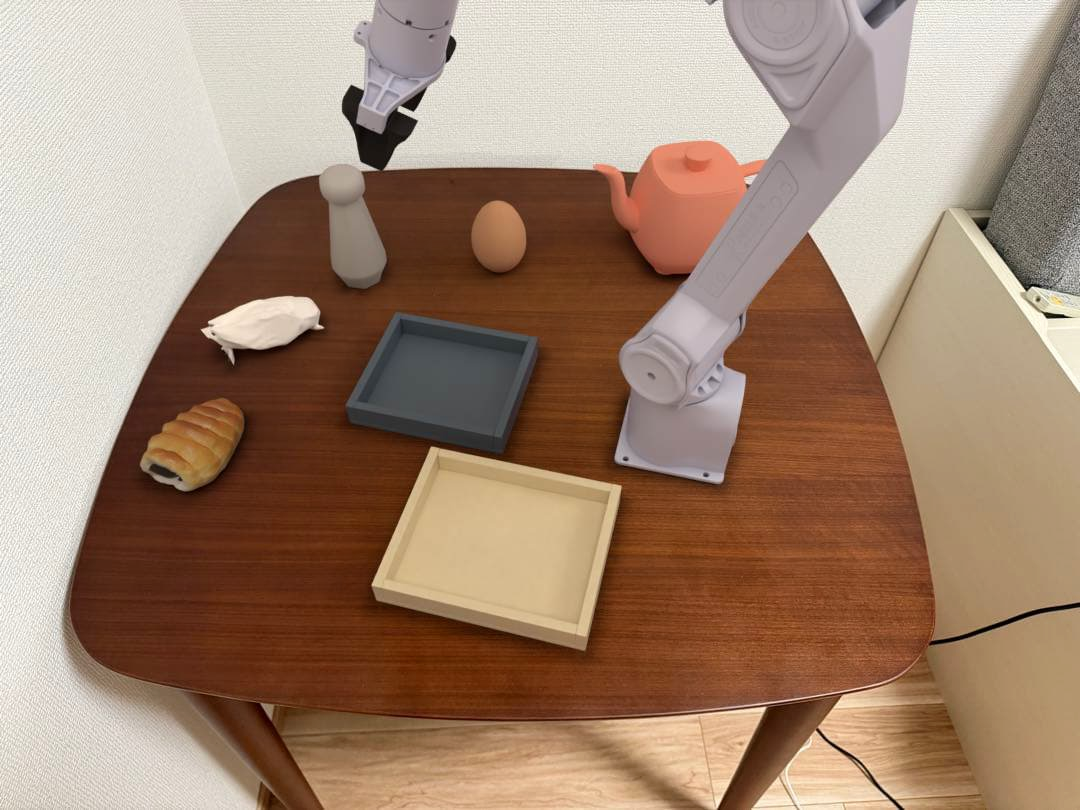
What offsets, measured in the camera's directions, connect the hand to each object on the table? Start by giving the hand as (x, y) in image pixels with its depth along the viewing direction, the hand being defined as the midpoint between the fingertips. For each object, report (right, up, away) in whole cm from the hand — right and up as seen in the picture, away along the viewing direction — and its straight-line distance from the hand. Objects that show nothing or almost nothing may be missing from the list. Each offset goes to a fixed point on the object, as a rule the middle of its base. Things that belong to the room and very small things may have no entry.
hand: (388, 133), depth 70 cm
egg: (+9, -9, +19) cm, 22 cm away
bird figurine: (-14, -17, +12) cm, 25 cm away
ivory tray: (+10, -35, -4) cm, 37 cm away
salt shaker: (-6, -10, +18) cm, 21 cm away
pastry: (-17, -28, +3) cm, 33 cm away
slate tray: (+4, -22, +7) cm, 23 cm away
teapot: (+28, -6, +21) cm, 36 cm away
